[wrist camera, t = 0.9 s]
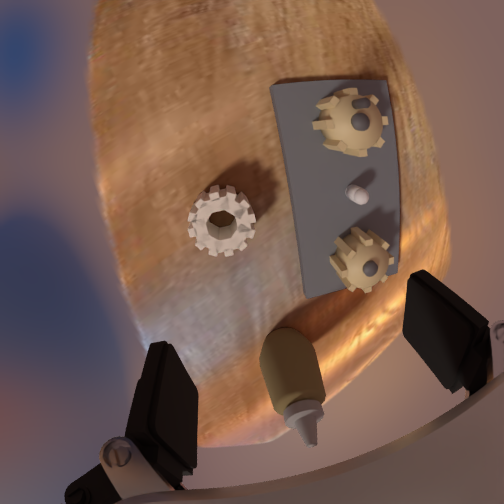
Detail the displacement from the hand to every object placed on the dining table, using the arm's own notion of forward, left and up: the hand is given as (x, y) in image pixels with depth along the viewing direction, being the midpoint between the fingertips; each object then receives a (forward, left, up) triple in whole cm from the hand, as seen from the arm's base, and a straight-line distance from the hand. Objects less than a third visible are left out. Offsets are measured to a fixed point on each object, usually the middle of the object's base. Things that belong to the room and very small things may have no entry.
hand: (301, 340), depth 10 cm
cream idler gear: (+1, -3, -23) cm, 23 cm away
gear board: (+1, +12, -23) cm, 26 cm away
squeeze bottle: (+22, +1, -23) cm, 32 cm away
